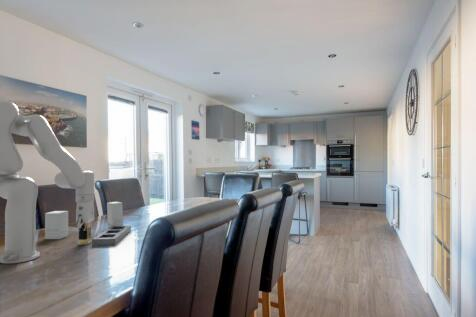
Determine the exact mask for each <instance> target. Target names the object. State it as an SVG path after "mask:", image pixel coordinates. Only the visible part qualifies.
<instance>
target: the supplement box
mask: <svg viewBox="0 0 476 317" xmlns="http://www.w3.org/2000/svg"><path fill="white" fill-rule="evenodd" d="M44 237H45V238H44V240H61V239H63V238H66V237H69V210H54V211H48V212H45V213H44Z"/></svg>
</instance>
